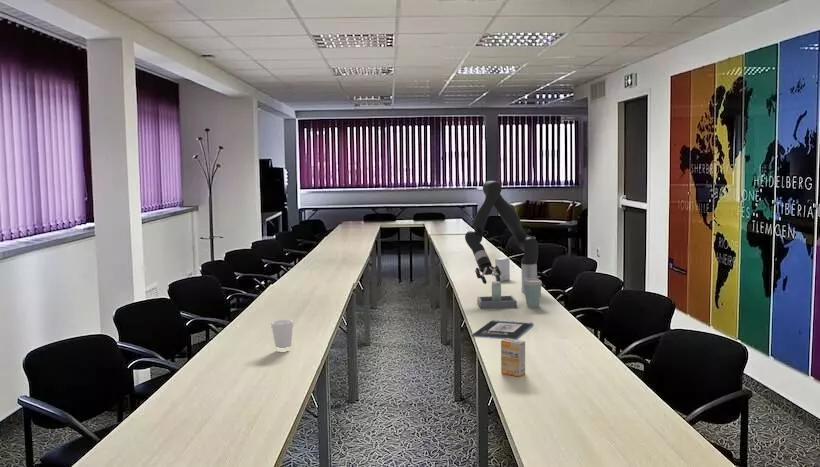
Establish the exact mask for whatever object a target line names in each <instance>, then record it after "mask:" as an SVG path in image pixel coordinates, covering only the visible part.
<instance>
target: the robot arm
mask: <svg viewBox="0 0 820 467" xmlns="http://www.w3.org/2000/svg"><path fill="white" fill-rule="evenodd" d="M502 190H503V189H502V185H501V183H500V182H499V181H495V180H487V181H485V182H484V183H483V184H482V191H483V194H484V195H485V196H486V197H485V199H484V201H483V202H482V205H481V207H480V208H479V209H478V211H477V212H476V214H475V217H474V219H473V222H472V227H473V228H474V231H473V230H469V231H467V232H466V233H465V235H464V238H465V243H466V244H467V246H468V247H469V248H470V249H471V251H472V253H473V256H474V260H475V262H476V264H477V266H478V267H476V268H475V270H474V272H475V274H476V277H477V279H480V280H481V281H482V283H483V284H484V285H486V284H487V279H486V277H485V276H490V275H491V276H493V277H494V278H495V280H496V279H497V280H496V281H500V280H501V279H500V277H499V276H500V275H501V272H500V270H499V268H498V266H496V267H495V266H493V265H492V262H491V259H490V258H489V255H488V253H487V251H486V249H485V247H484V245H483V244H482V240H483V237H484V228H485V225H486V224H487V220H488V218H489V216H490V213H491V211H492V209H493V208H494V209H495V210H496V212H497V213H498V215H499V216H500V219H502V221H503V223H504V224H505V226H506V227H507V228H508V230H509V232H510V233H511V234H512V236H513V238H514V239H515V242H516V244H517V245H518V247H519V249H520V250H521V252H523V257H522V259H521V260H520V262H521V263H520V264H521V266H520V267H521V292H522V293H525V291H524V285H523V281H524V279H526V278H532V279H539V276H538V266H537V263H538V259H539V244H538V243H539V242H538V241H537V239H536V238H534V237H529V236H528V234H527V232H525V230H524V228H523V226H522V222H521V218H520V216H519V215H518V213H517V212H516V210H515V208H514V207H513V206H512V205H511V204H509V202H507V201H506V199H504V197H503V196H502V195H501V192H502ZM481 273H482V274H481ZM500 282H501V281H500Z"/></svg>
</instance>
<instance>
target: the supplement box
mask: <svg viewBox="0 0 820 467" xmlns="http://www.w3.org/2000/svg"><path fill="white" fill-rule="evenodd" d="M500 365H501V366H500V371H501V372H500V373H502V375H508V376H514V377H518V378H521V377H522V376H524V375H526V341H525V340H519V339H517V340H514V339H509V338H506V339H501V340H500Z"/></svg>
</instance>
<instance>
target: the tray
mask: <svg viewBox="0 0 820 467" xmlns="http://www.w3.org/2000/svg"><path fill="white" fill-rule="evenodd" d="M476 298H477V300H476V301H477V304H478V306H479V308H480V310H481V309H502V308H503V309H504V308H505V309H506V308H507V309H509V308H518V302H517V300H516V299H515V298H516V297H515V296H513V295H501V301H492V295H491V296H487V295H486V296H477V297H476Z"/></svg>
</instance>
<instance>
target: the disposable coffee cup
mask: <svg viewBox="0 0 820 467" xmlns="http://www.w3.org/2000/svg"><path fill="white" fill-rule="evenodd" d="M523 285H524V291H525V292H524V296H525V297H524V298H525V301H526V306H527V307H528V308H538V307H539V306H540V302H541V301H540V300H541V292H542V285H543V282H542V280H540V279H539V278H538V279H532V278H526V279H524V281H523Z"/></svg>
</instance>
